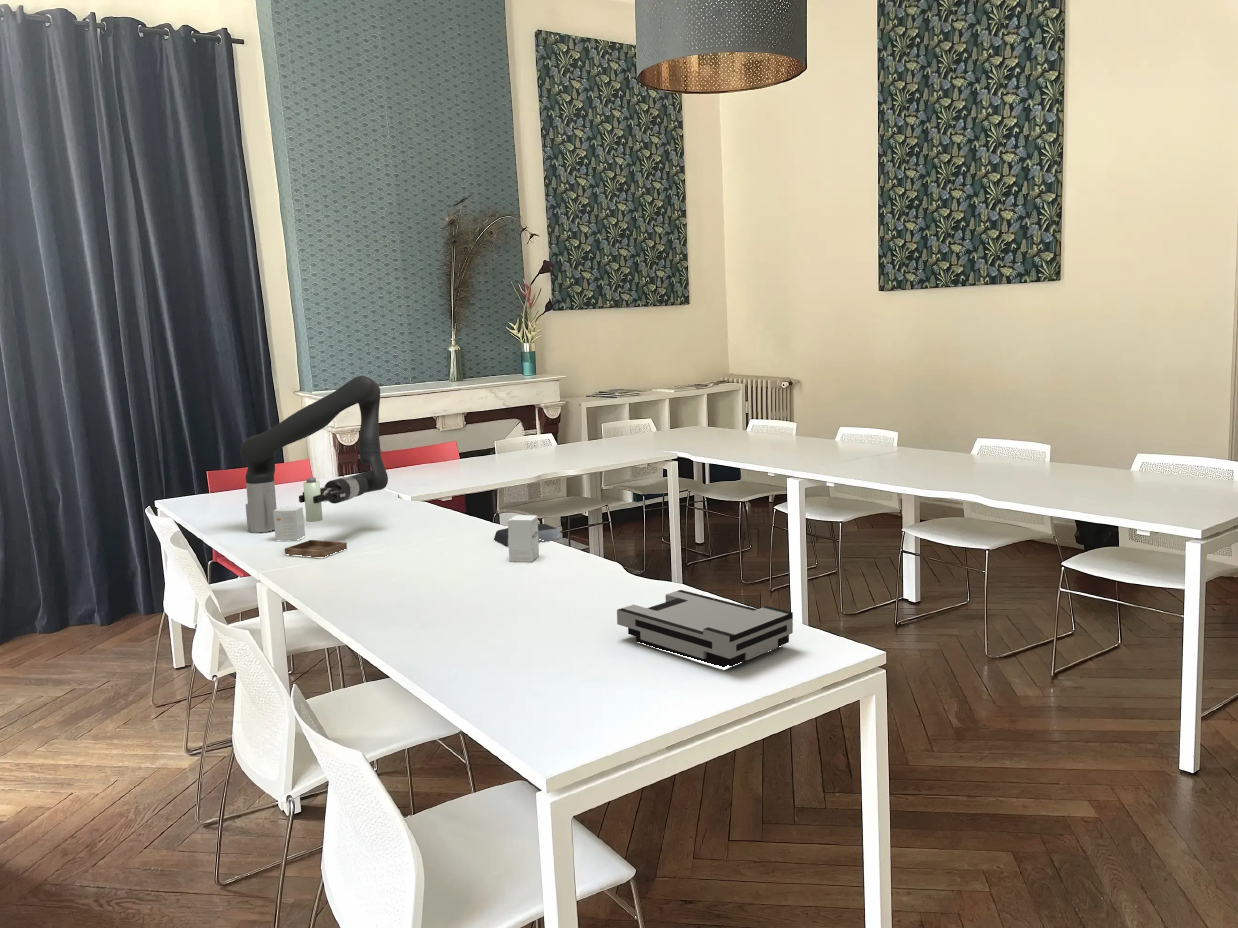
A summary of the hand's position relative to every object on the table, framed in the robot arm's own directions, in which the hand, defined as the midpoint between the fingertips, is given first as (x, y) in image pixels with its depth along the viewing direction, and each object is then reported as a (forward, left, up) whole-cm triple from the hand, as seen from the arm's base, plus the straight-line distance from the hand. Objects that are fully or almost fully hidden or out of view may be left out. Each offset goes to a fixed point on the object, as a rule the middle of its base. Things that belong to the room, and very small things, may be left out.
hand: (307, 499), depth 292 cm
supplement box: (+67, +14, -18) cm, 70 cm away
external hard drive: (+57, +37, -18) cm, 70 cm away
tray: (0, +3, -17) cm, 18 cm away
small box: (-21, +16, -18) cm, 32 cm away
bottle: (0, +3, -7) cm, 7 cm away
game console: (+138, -42, -18) cm, 146 cm away
